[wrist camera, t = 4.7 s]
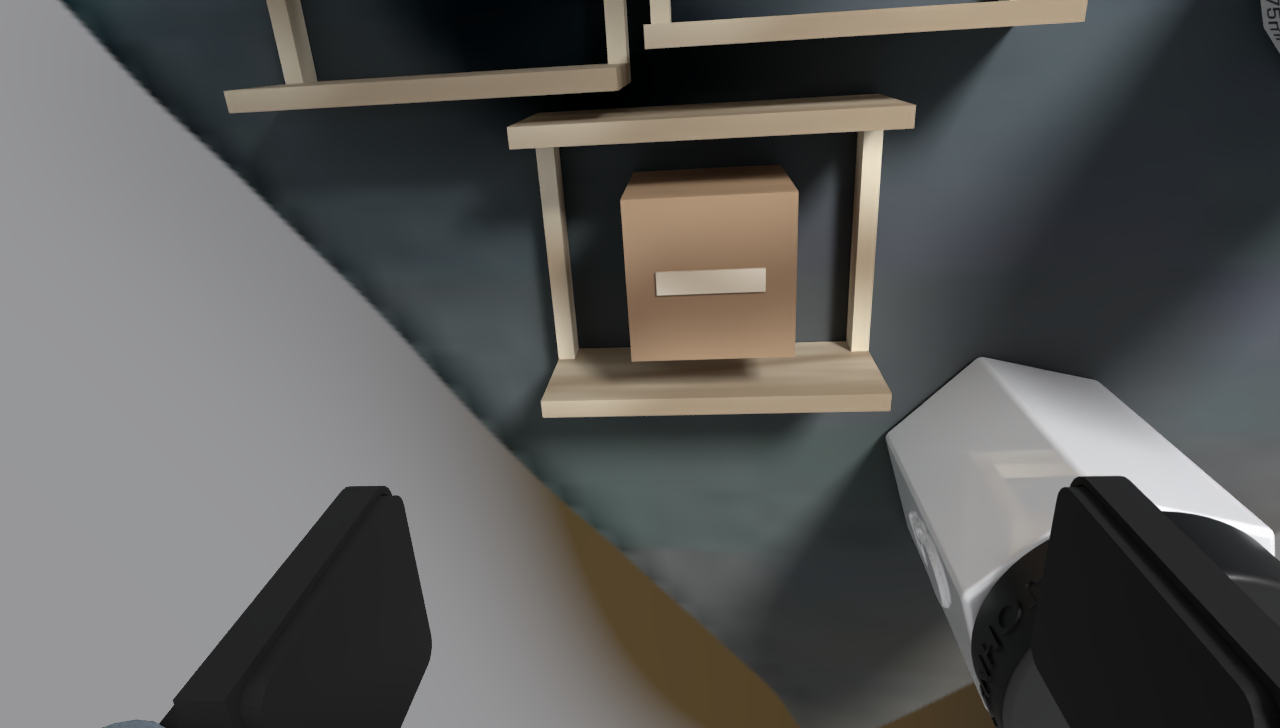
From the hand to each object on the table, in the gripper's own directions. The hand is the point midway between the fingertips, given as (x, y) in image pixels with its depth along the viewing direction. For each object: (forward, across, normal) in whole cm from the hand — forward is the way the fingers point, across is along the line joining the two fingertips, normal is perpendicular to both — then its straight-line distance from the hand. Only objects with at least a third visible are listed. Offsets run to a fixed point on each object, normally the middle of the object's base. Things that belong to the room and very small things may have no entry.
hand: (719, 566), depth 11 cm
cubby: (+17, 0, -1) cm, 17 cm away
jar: (+18, -11, +8) cm, 22 cm away
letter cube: (+17, 0, -1) cm, 17 cm away
